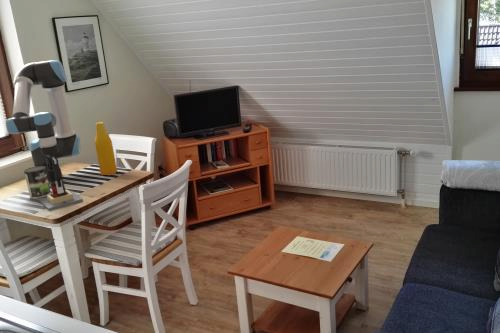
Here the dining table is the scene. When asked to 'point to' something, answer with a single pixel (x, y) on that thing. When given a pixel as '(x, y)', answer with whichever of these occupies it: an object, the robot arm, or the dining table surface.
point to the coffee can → (37, 182)
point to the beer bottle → (104, 151)
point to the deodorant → (53, 184)
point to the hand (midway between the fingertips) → (58, 191)
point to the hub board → (60, 200)
